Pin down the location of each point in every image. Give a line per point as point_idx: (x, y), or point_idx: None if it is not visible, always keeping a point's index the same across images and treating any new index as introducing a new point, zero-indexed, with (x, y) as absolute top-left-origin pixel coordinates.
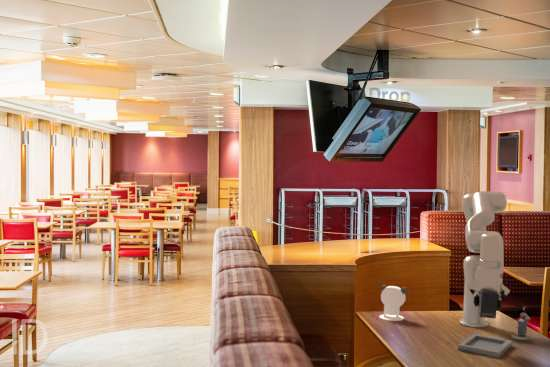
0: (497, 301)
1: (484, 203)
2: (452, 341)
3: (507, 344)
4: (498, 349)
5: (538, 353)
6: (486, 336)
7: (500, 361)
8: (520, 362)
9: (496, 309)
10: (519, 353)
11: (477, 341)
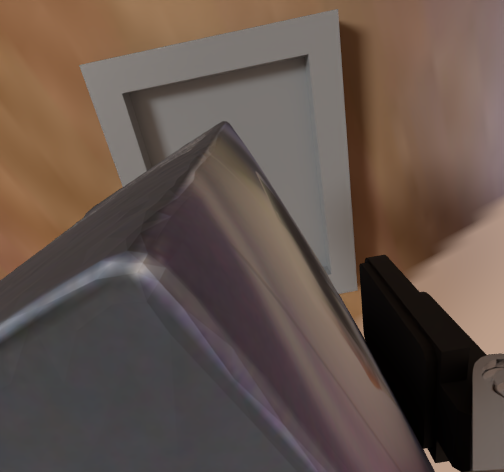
0: (431, 439)
1: None
2: (69, 211)
3: (342, 125)
4: (337, 249)
5: (493, 39)
6: (172, 56)
7: None
8: (438, 256)
9: (366, 335)
10: (403, 131)
11: (164, 140)
